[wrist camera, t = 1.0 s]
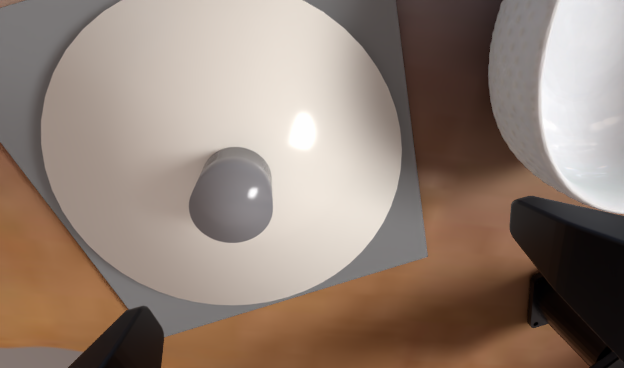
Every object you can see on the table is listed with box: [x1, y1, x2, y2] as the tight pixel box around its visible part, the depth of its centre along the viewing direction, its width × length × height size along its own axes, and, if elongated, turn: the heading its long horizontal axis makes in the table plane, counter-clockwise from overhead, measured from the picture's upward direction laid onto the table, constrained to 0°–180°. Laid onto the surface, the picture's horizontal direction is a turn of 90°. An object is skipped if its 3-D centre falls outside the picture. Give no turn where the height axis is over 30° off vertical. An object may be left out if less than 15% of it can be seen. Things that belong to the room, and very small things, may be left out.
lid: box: [41, 0, 402, 305], centre depth 17 cm, size 20×20×4 cm
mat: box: [0, 0, 428, 337], centre depth 20 cm, size 22×22×1 cm
